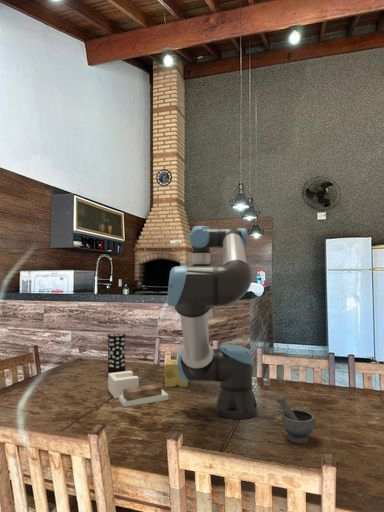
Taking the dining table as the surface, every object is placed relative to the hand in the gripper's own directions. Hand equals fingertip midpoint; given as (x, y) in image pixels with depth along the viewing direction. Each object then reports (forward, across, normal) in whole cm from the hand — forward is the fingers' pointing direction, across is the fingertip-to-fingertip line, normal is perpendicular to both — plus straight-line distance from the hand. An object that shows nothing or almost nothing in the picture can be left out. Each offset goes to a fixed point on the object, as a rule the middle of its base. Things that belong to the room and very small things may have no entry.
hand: (201, 315), depth 150 cm
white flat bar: (+33, +6, +23) cm, 40 cm away
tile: (+31, +5, +24) cm, 39 cm away
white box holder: (+33, +18, +28) cm, 47 cm away
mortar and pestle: (+33, -46, -9) cm, 57 cm away
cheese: (+33, +20, +3) cm, 39 cm away
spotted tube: (+33, +43, +25) cm, 60 cm away
